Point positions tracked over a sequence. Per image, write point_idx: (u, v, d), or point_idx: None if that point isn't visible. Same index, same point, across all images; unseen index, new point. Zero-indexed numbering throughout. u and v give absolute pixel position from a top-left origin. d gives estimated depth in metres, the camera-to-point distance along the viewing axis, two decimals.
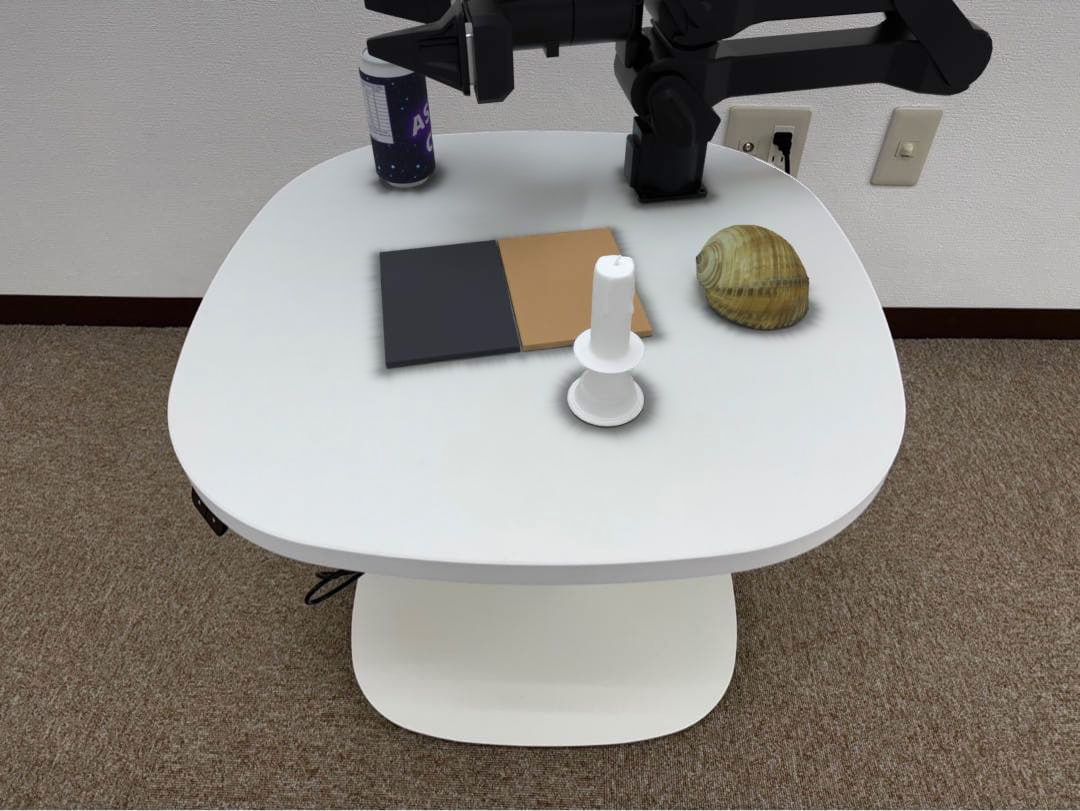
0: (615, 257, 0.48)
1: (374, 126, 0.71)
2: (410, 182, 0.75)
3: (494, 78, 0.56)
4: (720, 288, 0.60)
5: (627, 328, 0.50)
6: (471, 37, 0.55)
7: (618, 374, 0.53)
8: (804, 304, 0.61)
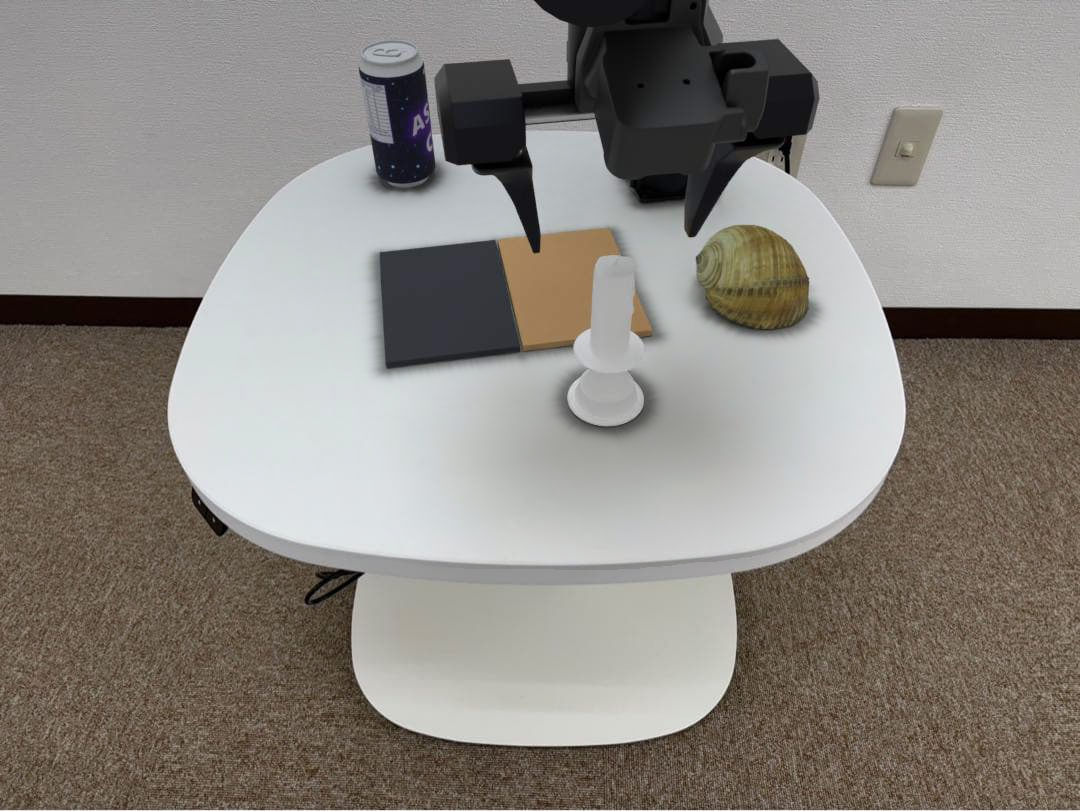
0: (615, 257, 0.48)
1: (374, 126, 0.71)
2: (410, 182, 0.75)
3: None
4: (720, 288, 0.60)
5: (627, 328, 0.50)
6: None
7: (618, 374, 0.53)
8: (804, 304, 0.61)
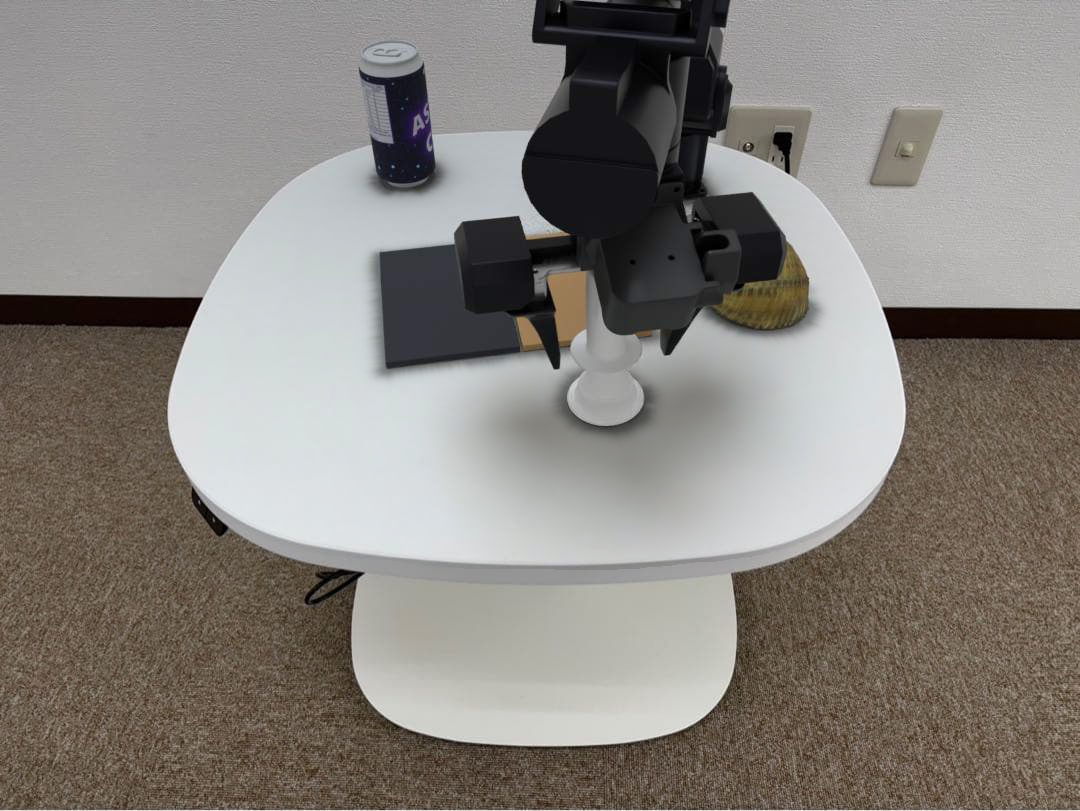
0: None
1: (374, 126, 0.71)
2: (410, 182, 0.75)
3: None
4: None
5: None
6: None
7: (616, 374, 0.53)
8: (804, 304, 0.61)
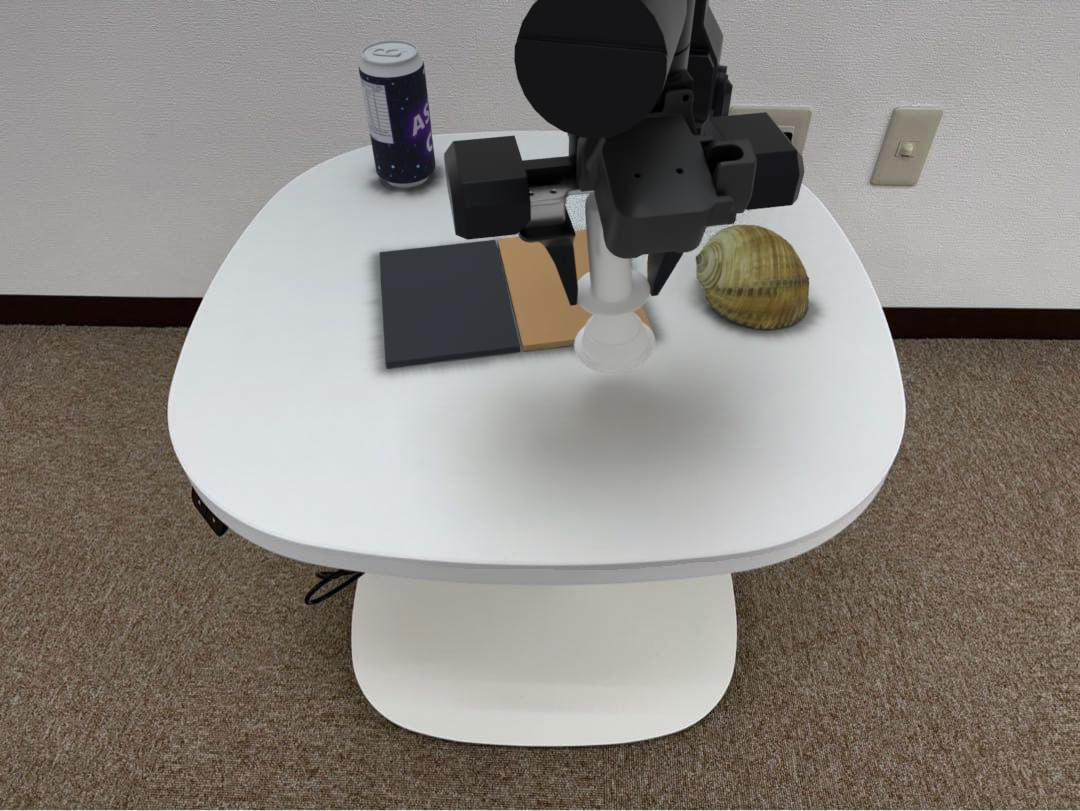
0: None
1: (374, 126, 0.71)
2: (410, 182, 0.75)
3: None
4: (720, 288, 0.60)
5: (627, 266, 0.47)
6: None
7: (624, 317, 0.50)
8: (804, 304, 0.61)
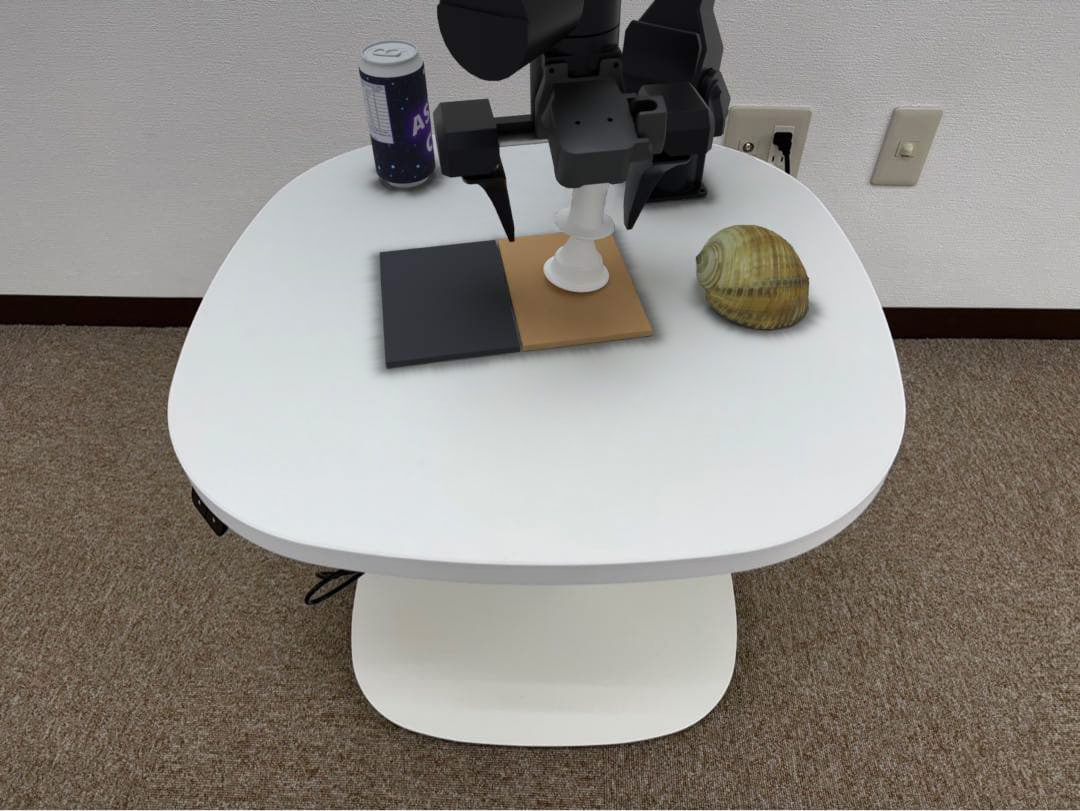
0: None
1: (374, 126, 0.71)
2: (410, 182, 0.75)
3: None
4: (720, 288, 0.60)
5: (602, 200, 0.59)
6: None
7: (590, 246, 0.62)
8: (804, 304, 0.61)
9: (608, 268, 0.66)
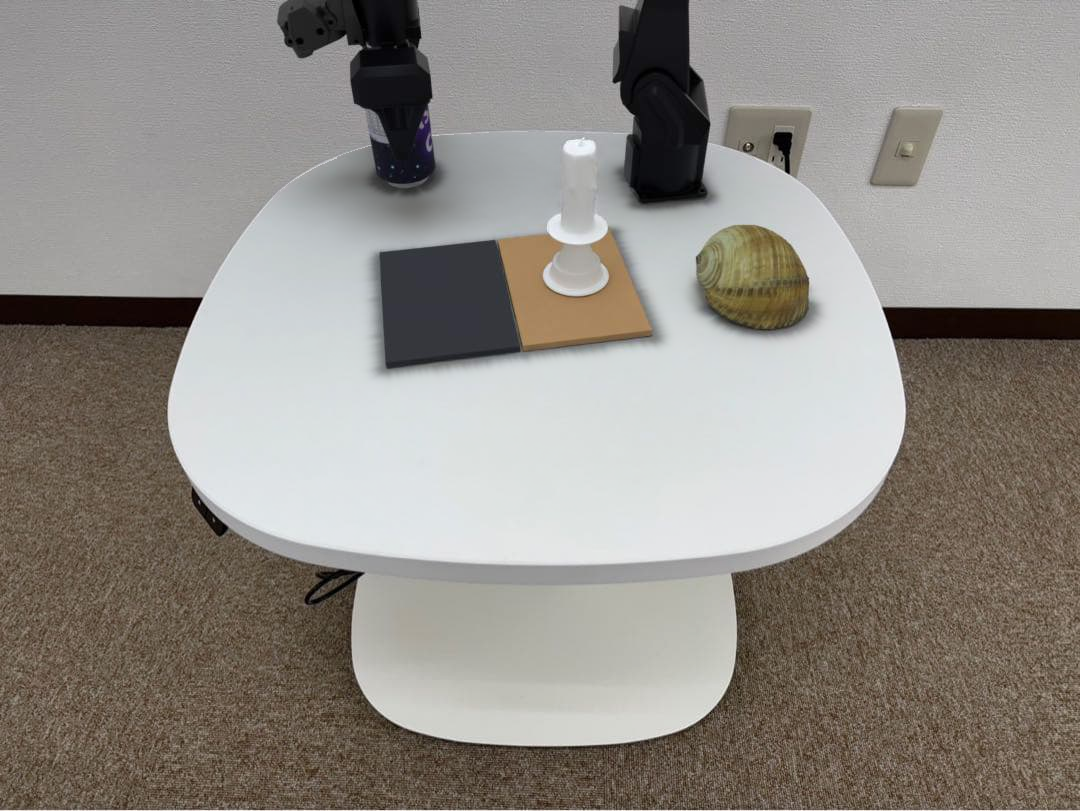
0: (580, 140, 0.57)
1: (374, 126, 0.71)
2: (410, 182, 0.75)
3: (405, 87, 0.62)
4: (720, 288, 0.60)
5: (591, 204, 0.59)
6: None
7: (585, 250, 0.62)
8: (804, 304, 0.61)
9: (608, 268, 0.66)
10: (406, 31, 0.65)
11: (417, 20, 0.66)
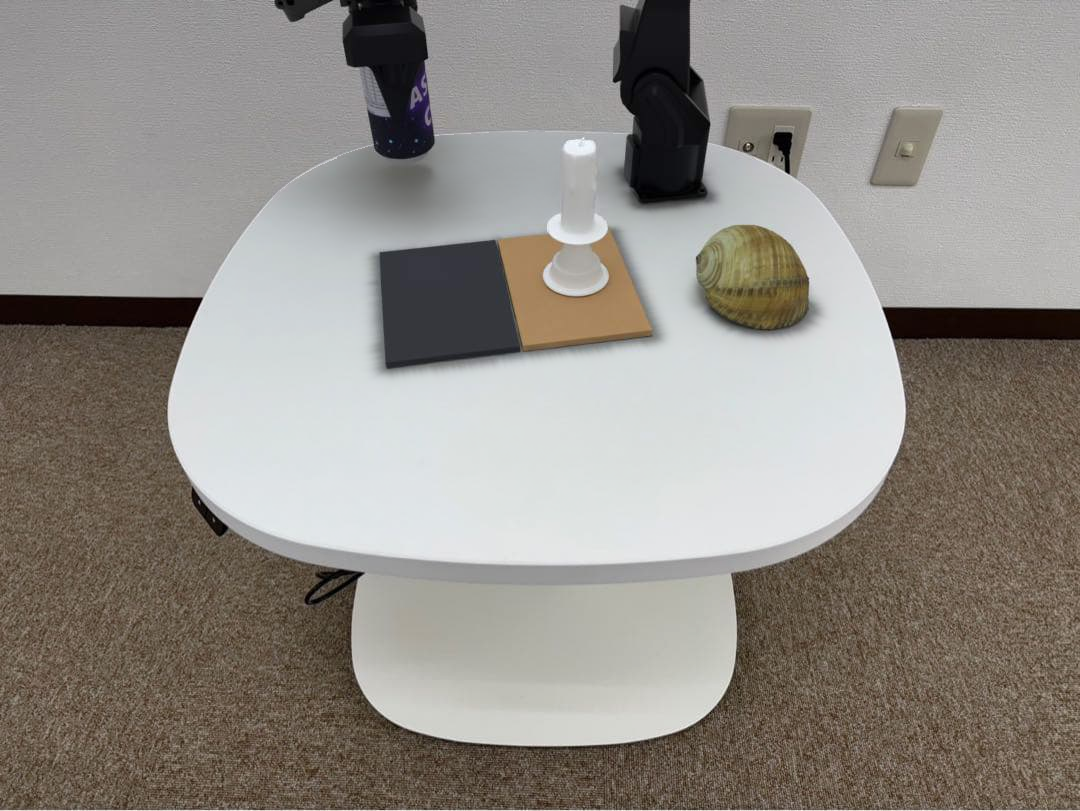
0: (580, 140, 0.57)
1: (371, 99, 0.70)
2: (409, 157, 0.73)
3: (400, 46, 0.60)
4: (720, 288, 0.60)
5: (591, 204, 0.59)
6: None
7: (585, 250, 0.62)
8: (804, 304, 0.61)
9: (608, 268, 0.66)
10: None
11: None
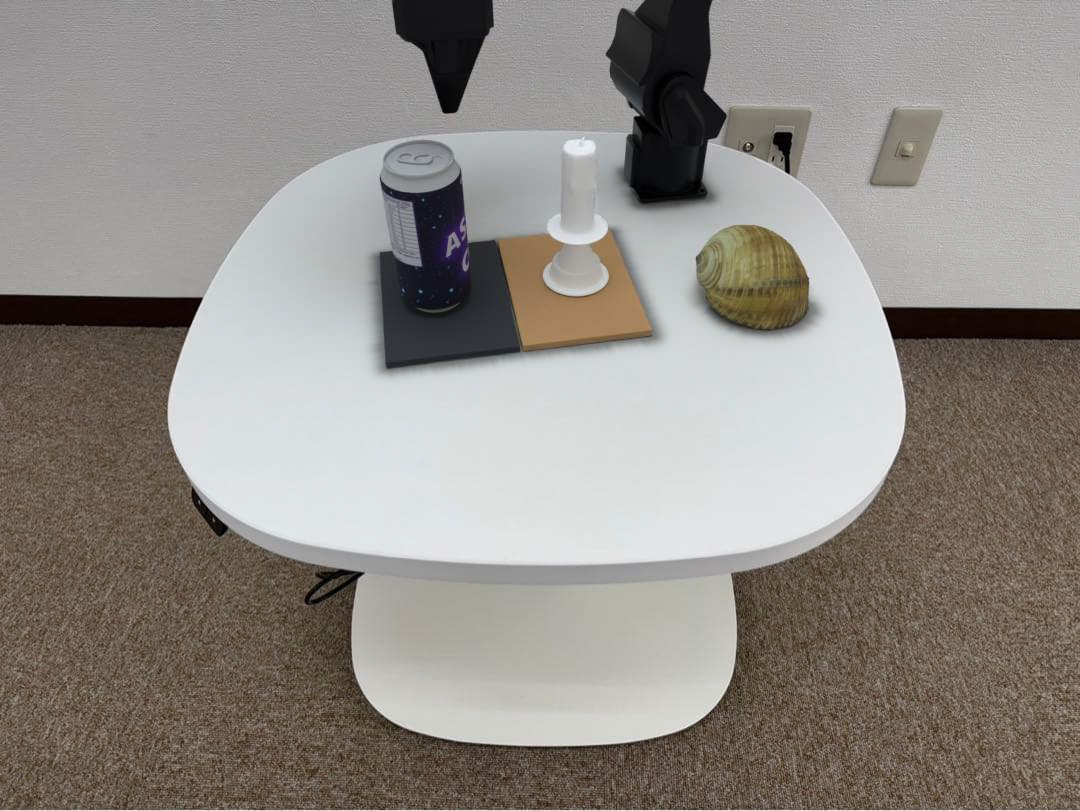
0: (580, 140, 0.57)
1: (398, 245, 0.57)
2: (441, 308, 0.61)
3: (461, 11, 0.49)
4: (720, 288, 0.60)
5: (591, 204, 0.59)
6: None
7: (585, 250, 0.62)
8: (804, 304, 0.61)
9: (608, 268, 0.66)
10: None
11: None
